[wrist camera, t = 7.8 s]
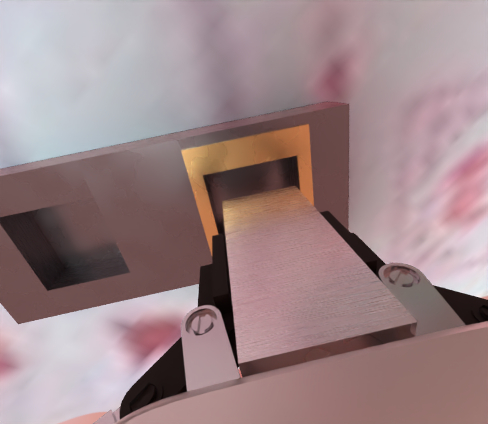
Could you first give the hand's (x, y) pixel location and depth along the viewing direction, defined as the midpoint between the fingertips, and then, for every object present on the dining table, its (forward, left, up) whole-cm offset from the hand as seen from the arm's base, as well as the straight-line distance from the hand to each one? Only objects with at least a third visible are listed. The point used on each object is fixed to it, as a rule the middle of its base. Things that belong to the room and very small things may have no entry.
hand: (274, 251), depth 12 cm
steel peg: (0, 0, -3) cm, 3 cm away
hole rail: (0, -6, -8) cm, 10 cm away
